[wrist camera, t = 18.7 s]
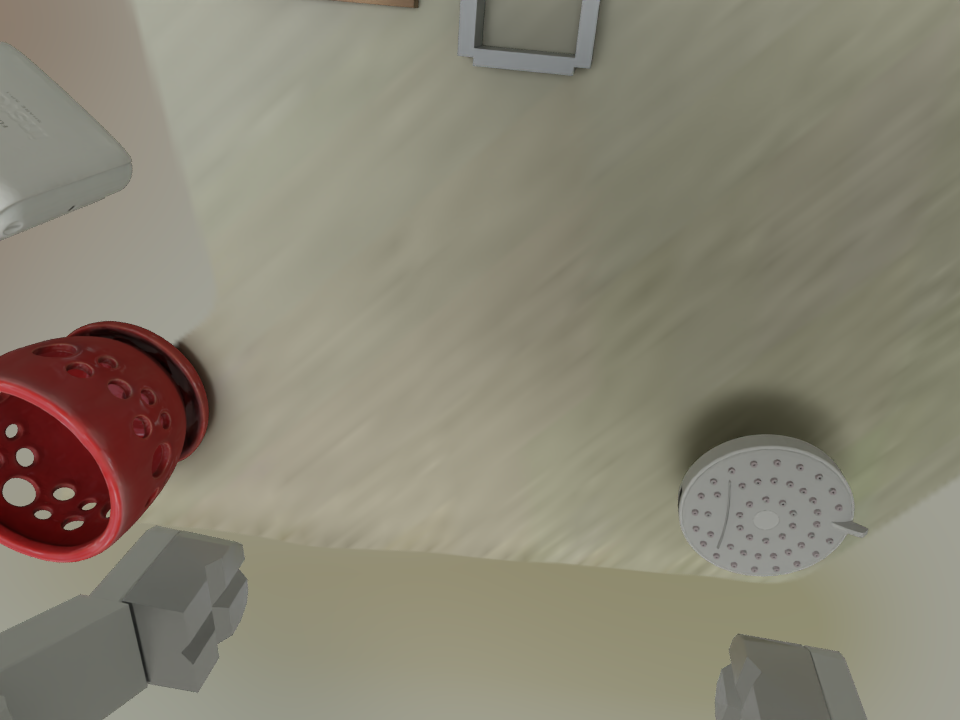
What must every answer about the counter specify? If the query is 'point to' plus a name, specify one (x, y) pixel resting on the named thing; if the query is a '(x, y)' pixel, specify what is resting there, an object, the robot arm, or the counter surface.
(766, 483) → the showerhead
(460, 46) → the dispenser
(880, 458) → the counter surface
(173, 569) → the robot arm
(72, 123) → the photo printer
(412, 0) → the pad
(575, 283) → the counter surface
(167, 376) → the plant pot
